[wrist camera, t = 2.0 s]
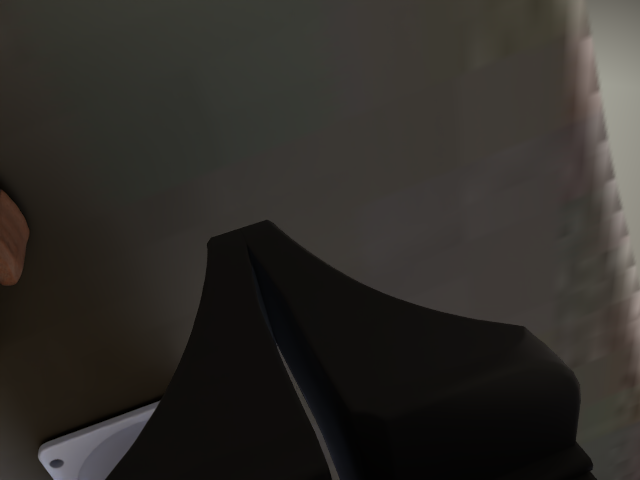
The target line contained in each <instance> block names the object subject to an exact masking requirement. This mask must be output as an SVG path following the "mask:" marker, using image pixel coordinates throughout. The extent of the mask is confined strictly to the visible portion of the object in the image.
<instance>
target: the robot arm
mask: <svg viewBox="0 0 640 480" xmlns="http://www.w3.org/2000/svg"><path fill="white" fill-rule="evenodd" d="M207 248H208V258H207V268H206V276H205V281H204V286H203V291H202V296H201V301H200V305H199V308H198V312H197V315H196V318H195V322H194V325H193V329H192V332H191V335H190V337H189V340H188V343H187V346H186V348H185V351H184V353H183V355H182V358H181V360H180V363H179V365H178V367H177V369H176V371H175V373H174V375H173V377H172V379H171V381H170V383H169V385H168V387H167V389H166V391H165V393H164V395H163V397H162V399H161V400H160V401H158V402H155V403H152V404H150V405H147V406H144V407H141V408H139V409H136V410H133V411H130V412H128V413H125V414H122V415H120V416H117V417H114V418H111V419H109V420H106V421H103V422H100V423H98V424H95V425H92V426H89V427H87V428H84V429H81V430H78V431H76V432H73V433H70V434H68V435H65V436H62V437H59V438H57V439H54V440H51V441H48V442H46V443H44V444H42V445H41V446H40V447H39V451H38V458H39V461H40V462H41V463H42V465H43V466H44V467H45V469H46V470H47V471H48V473H49V474H50V475H51V477H52V478H53V480H332V478H331V474H330V470H329V467H328V465H327V462H326V459H325V457H324V454H323V452H322V449H321V447H320V444H319V441H318V439H317V436H316V434H315V431H314V429H313V427H312V425H311V423H310V421H309V419H308V417H307V415H306V413H305V410H304V408H303V406H302V404H301V402H300V400H299V397H298V395H297V393H296V391H295V389H294V387H293V384H292V382H291V380H290V377H289V375H288V373H287V371H286V368H285V366H284V364H283V361H282V359H281V357H280V354H279V352H278V349H277V345H278V347H279V349H280V351H281V353H282V355H283V357H284V359H285V361H286V363H287V365H288V367H289V369H290V370H291V372H292V374H293V376H294V378H295V380H296V382H297V384H298V386H299V388H300V390H301V392H302V394H303V396H304V398H305V400H306V402H307V404H308V406H309V408H310V410H311V412H312V414H313V416H314V418H315V419H316V422H317V424H318V426H319V428H320V430H321V433H322V435H323V437H324V440H325V442H326V445H327V447H328V450H329V452H330V455H331V458H332V460H333V463H334V465H335V468H336V471H337V473H338V476H339V478H340V480H597V479H596V478H595V477H594V476H593V474H592V473H591V472H590V471H591V470H592V468H593V463H592V461H591V459H590V457H589V456H588V455H587V454H586V453H585V452H584V450H583V449H582V448H581V447H580V446H579V444H578V443H577V442H576V434H577V426H578V418H579V410H580V402H581V394H580V384H579V382H578V380H577V378H576V376H575V374H574V372H573V371H572V370H571V369H570V368H569V367H568V366H567V365H566V364H565V363H564V362H563V361H562V360H561V359H560V358H559V357H558V356H557V355H556V354H555V353H554V352H553V351H552V350H551V349H550V348H549V347H548V346H547V345H546V344H544V343H543V342H542V341H541V340H539V339H538V338H537V337H536V336H534V335H533V334H532V333H531V332H530V331H529V330H528V329H526V328H525V327H524V326H518V325H511V324H504V323H497V322H490V321H483V320H477V319H471V318H466V317H462V316H457V315H453V314H448V313H444V312H440V311H436V310H432V309H429V308H425V307H422V306H419V305H416V304H413V303H409V302H406V301H403V300H400V299H397V298H395V297H392V296H389V295H387V294H384V293H382V292H379V291H377V290H375V289H373V288H370V287H368V286H366V285H364V284H362V283H360V282H358V281H356V280H354V279H352V278H350V277H349V276H347V275H345V274H343V273H342V272H340V271H338V270H336V269H335V268H333V267H331V266H330V265H328V264H327V263H325V262H323V261H322V260H320V259H319V258H317V257H316V256H315V255H313V254H312V253H310V252H309V251H307V250H306V249H304V248H303V247H302V246H300V245H299V244H298V243H296V242H295V241H294V240H292V239H291V238H290V237H289V236H287V235H286V234H285V233H284V232H283V231H281V230H280V229H279V228H278V227H277V226H276V225H275V224H274V223H272V222H271V221H269V220H265V221H262V222H258V223H255V224H252V225H249V226H246V227H243V228H240V229H237V230H234V231H231V232H228V233H224V234H221V235H218V236H215V237H212V238H210V240H209V242H208V243H207ZM276 343H277V345H276ZM55 459H60V460H55Z"/></svg>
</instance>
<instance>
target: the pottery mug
mask: <svg viewBox="0 0 640 480" xmlns="http://www.w3.org/2000/svg"><path fill="white" fill-rule="evenodd" d="M28 238H29V228H28V226H27V223H26V220H25V217H24V216H23V215H22V213H21V212H20V210H19V208H18V206H17V205H16V204H15V203H14V202H13V201H12V200H11V199H10V197H9V196H8V195H7V194H6V193H5V192H4V191H3V190H1V189H0V283H1V284H2V285H5V286H8V285H14V284H16V283H17V282H18V280H19V278H20V276H21V273H22V270H23V265H24V258H25V253H26V244H27V241H28Z"/></svg>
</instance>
